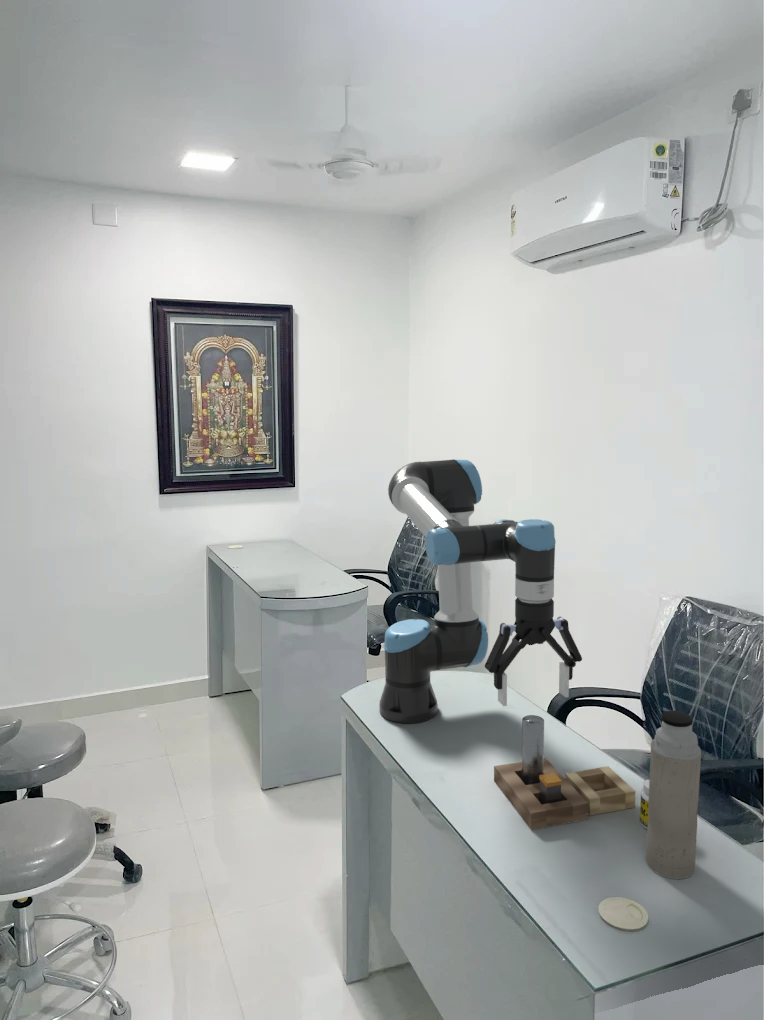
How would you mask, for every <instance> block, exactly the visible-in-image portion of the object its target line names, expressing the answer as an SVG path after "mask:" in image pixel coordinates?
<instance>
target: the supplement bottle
mask: <svg viewBox="0 0 764 1020" xmlns="http://www.w3.org/2000/svg"><path fill="white" fill-rule="evenodd" d="M649 779H650V778H649ZM649 779H646V780H644V782H643V785H642V791H641V792H640V808H639V823H640V825H641V826H642V828H645V830H647V828H648V803H649Z"/></svg>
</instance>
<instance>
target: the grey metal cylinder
mask: <svg viewBox="0 0 764 1020" xmlns="http://www.w3.org/2000/svg"><path fill="white" fill-rule="evenodd" d="M521 723H522V724H521V725H522V726H521V762H522V781H523V783H524V784H525V785H530V784H536V783H540V779H539V775H543V760H544V758H545V757H544V753H545V752H544V750H545V748H544V747H545V746H544V745H545V744H544V743H545V742H544V741H545V719H544V718H543V717H541V716H540V715H536V714H531V715H530V714H529V715H525V716H523V717H522V718H521Z"/></svg>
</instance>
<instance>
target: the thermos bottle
mask: <svg viewBox="0 0 764 1020" xmlns="http://www.w3.org/2000/svg"><path fill="white" fill-rule="evenodd" d="M660 719H661V726H660V727H658V728H657V729H656V731H655V735H654V738H653V739H652V741H651V743H650V757H649V758H650V760H649V763H650V764H649V803H648V828H647V829H646V832H647V833H646V851H645V852H646V853H645V855H646V856H645V860H646V864H647V866H648V867H649V869H651V870H652V871H653V872H654V873H656V874H658V875H659V876H661V877H664V878H668V879H672V880H682V879H687V878H690V877H691V876H692V875H693V874H694V872H695V869H696V853H697V851H696V850H697V835H698V834H697V832H698V808H699V798H700V797H699V795H700V782H701V781H700V780H701V778H700V777H701V763H702V762H701V761H702V749H701V748H700V746H699V740H698V736H697V734H696V733H695V732H694V731H693V717H692V716H691V715H690V714H688V713H687V712H683V711H680V710H666V711H663V712H662V713H661V717H660Z"/></svg>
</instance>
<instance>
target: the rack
mask: <svg viewBox="0 0 764 1020" xmlns="http://www.w3.org/2000/svg"><path fill="white" fill-rule="evenodd" d="M564 774H565V775H564V778H565V779H566V780H567V781H568V782H569V783H570V784H571V785H572V786H573V787H574V788H575V790H576V791H577V792H578V793H579V794H580V795H581V796H582V797H583V798H584V799H585V800H586V801H587V802H588V816H595V815H600V814H605V813H606V814H607V813H610V812H611V813H612V812H617V811H622V810H627V809H632V808H636V790H635V789H634V788H633V787H631V785H630V784H628V782H626V781H625V780H624V779H623V778H622V777H621V776H620V775H619V774H618V773H616V772H615V771H614V770H613V769H612V768H611V767H610V766H608V765H606V766H601V767H597V768H595V767H594V768H589V769H582V770H578V771H572V772H566V773H564Z"/></svg>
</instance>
